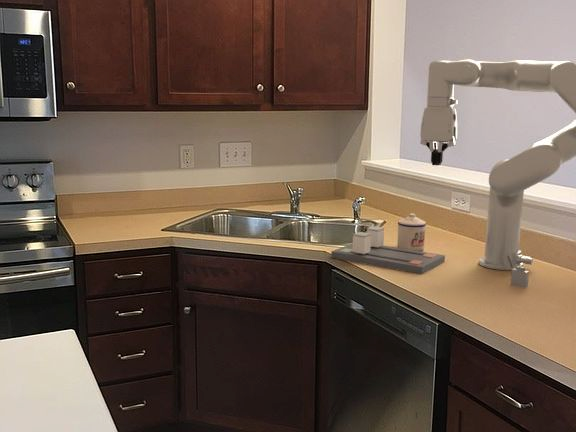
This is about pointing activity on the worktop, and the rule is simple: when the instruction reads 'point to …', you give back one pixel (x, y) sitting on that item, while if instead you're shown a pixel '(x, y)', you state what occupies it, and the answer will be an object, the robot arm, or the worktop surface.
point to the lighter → (516, 273)
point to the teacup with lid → (411, 233)
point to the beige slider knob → (361, 242)
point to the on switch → (376, 236)
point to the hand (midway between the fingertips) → (436, 164)
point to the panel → (392, 258)
